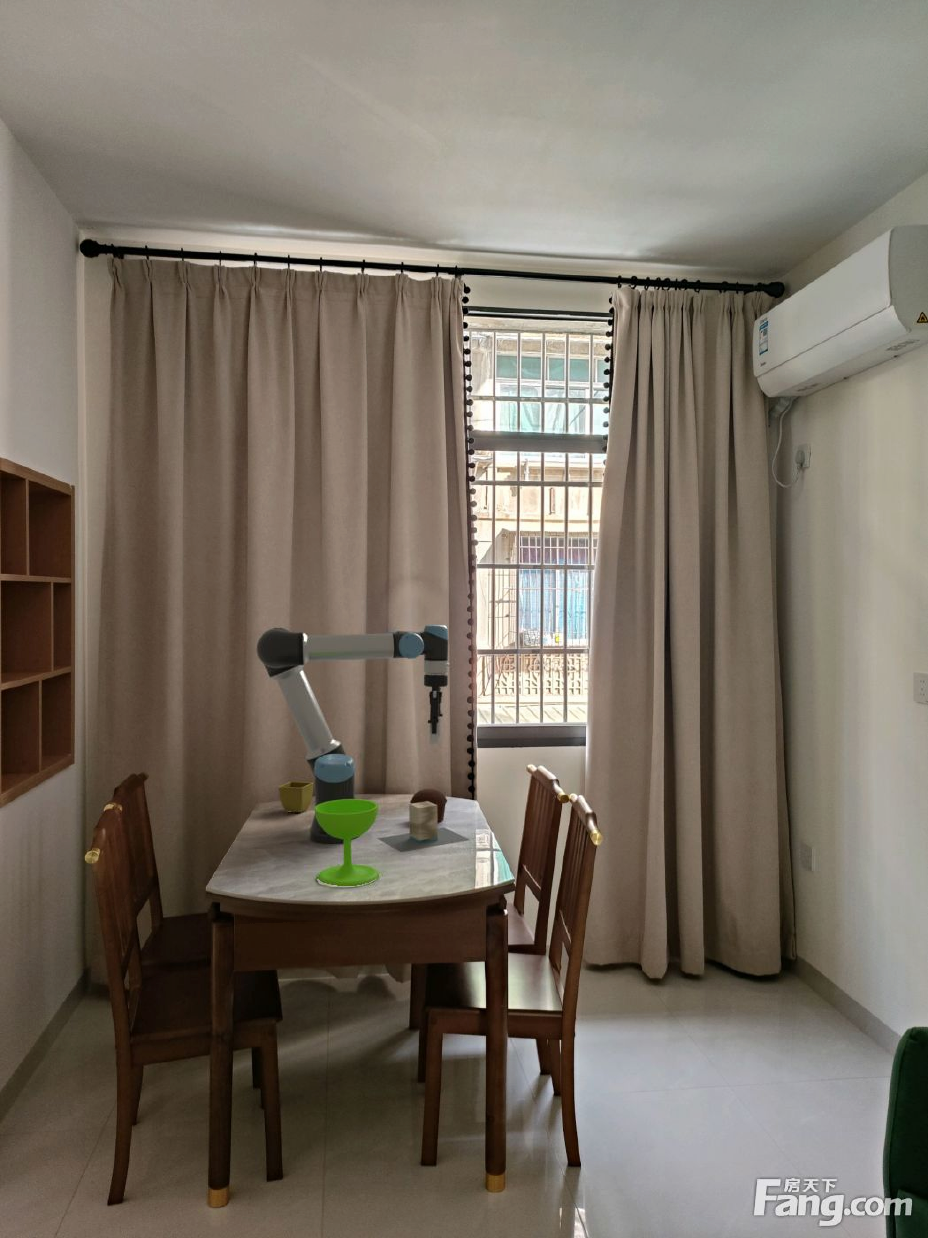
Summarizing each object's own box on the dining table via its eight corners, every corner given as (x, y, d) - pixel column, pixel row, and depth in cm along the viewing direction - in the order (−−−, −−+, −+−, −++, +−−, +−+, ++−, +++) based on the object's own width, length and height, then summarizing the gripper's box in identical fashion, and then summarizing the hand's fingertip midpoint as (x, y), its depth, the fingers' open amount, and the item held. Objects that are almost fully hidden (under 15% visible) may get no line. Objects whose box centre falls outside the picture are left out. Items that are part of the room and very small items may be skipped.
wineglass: (303, 878, 217) (301, 807, 217) (354, 863, 228) (352, 796, 228) (341, 893, 206) (339, 818, 205) (392, 877, 217) (391, 806, 216)
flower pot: (278, 814, 283) (277, 786, 283) (291, 807, 291) (290, 781, 291) (302, 815, 280) (301, 788, 280) (314, 809, 289) (314, 782, 289)
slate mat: (401, 853, 236) (401, 852, 236) (377, 840, 250) (377, 838, 250) (470, 841, 247) (470, 839, 247) (444, 829, 261) (444, 827, 261)
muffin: (405, 825, 266) (405, 793, 266) (416, 816, 277) (415, 785, 276) (442, 827, 263) (442, 795, 263) (451, 818, 274) (451, 787, 274)
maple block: (419, 843, 245) (418, 808, 244) (409, 838, 250) (409, 804, 250) (437, 840, 248) (437, 805, 247) (428, 835, 253) (427, 801, 253)
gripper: (446, 677, 260) (445, 747, 261) (449, 670, 285) (448, 734, 286) (421, 677, 260) (420, 747, 261) (426, 670, 285) (425, 734, 286)
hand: (435, 740), depth 273 cm, fingers open, 13 cm apart
